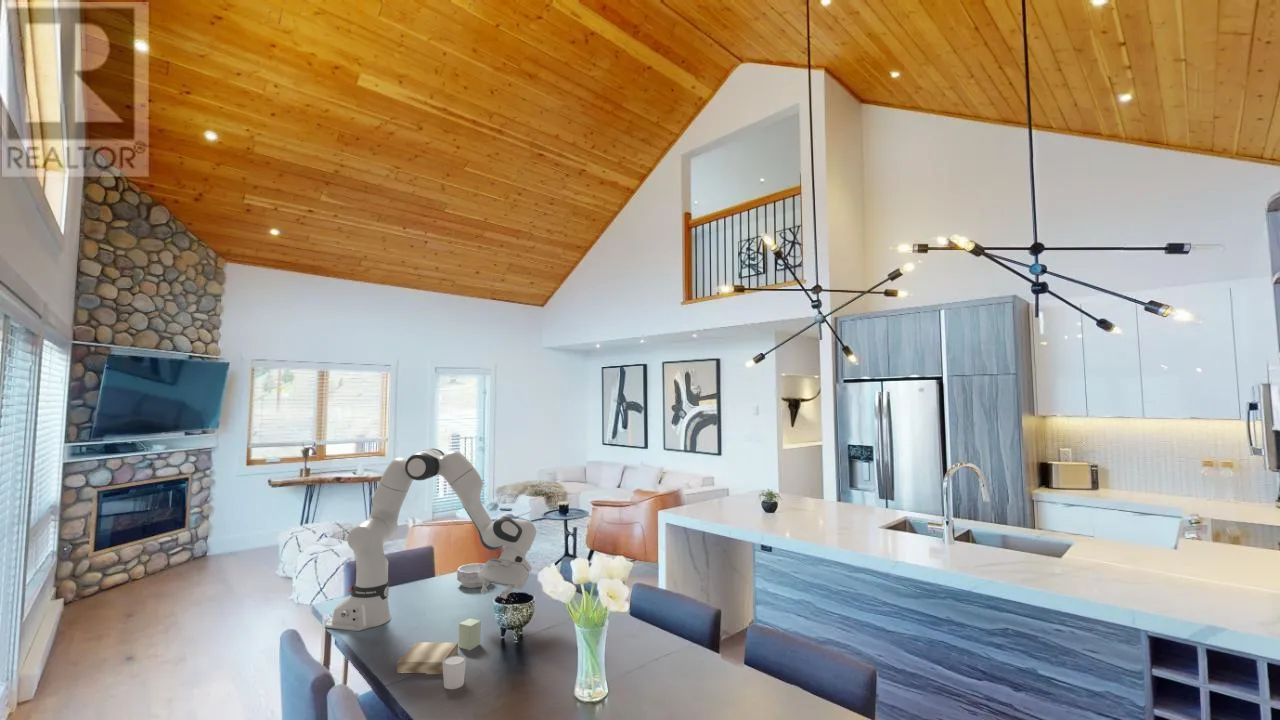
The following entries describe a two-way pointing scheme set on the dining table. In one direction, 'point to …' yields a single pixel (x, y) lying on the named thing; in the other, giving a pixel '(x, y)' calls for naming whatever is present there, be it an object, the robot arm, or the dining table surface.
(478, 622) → the sage block
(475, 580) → the light grey bowl
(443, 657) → the block
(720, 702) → the dining table surface
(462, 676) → the shot glass
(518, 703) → the dining table surface
